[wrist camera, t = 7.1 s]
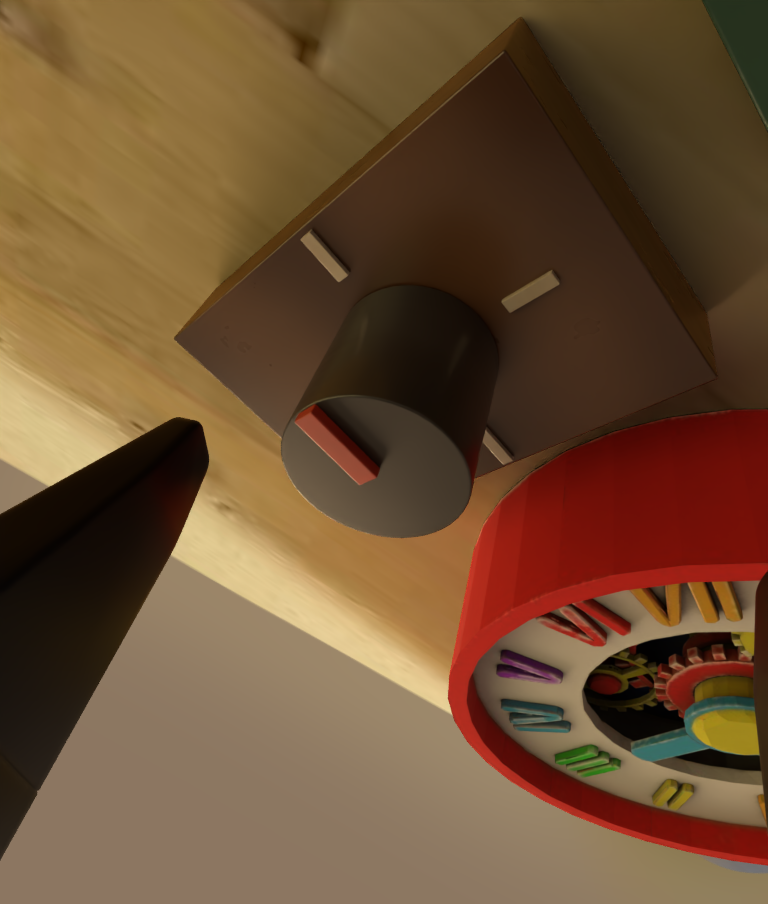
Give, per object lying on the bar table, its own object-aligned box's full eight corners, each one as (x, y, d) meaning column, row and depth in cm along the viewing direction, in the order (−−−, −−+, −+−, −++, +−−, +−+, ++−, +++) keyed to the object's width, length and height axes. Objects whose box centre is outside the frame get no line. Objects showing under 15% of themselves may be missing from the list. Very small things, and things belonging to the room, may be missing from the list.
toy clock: (843, 430, 13) (1348, 841, 17) (789, 282, 17) (1209, 646, 21) (349, 695, 27) (701, 887, 31) (385, 578, 31) (692, 762, 35)
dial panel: (521, 15, 14) (503, 51, 12) (707, 314, 18) (719, 383, 16) (215, 288, 22) (170, 342, 20) (391, 463, 25) (369, 525, 23)
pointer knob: (531, 381, 17) (510, 516, 14) (407, 440, 20) (364, 566, 17) (429, 251, 16) (377, 371, 12) (307, 335, 18) (237, 452, 15)
